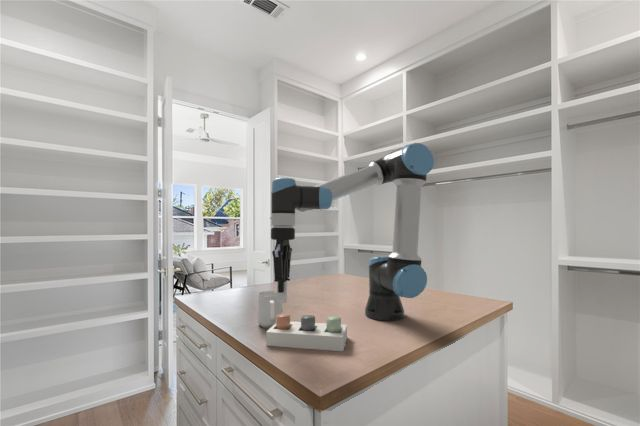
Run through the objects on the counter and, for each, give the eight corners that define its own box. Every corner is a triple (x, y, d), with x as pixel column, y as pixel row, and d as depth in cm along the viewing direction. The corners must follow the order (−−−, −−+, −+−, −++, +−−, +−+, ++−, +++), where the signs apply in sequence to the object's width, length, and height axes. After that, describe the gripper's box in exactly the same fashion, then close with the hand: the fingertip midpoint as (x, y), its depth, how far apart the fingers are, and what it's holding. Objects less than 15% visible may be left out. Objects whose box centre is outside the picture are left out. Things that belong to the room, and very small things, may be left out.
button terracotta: (291, 327, 98) (291, 314, 98) (287, 332, 94) (287, 318, 94) (278, 326, 99) (278, 313, 99) (274, 331, 95) (274, 317, 95)
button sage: (341, 330, 95) (341, 316, 95) (339, 335, 91) (339, 321, 91) (327, 329, 96) (327, 315, 96) (325, 334, 92) (325, 320, 92)
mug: (257, 321, 115) (257, 291, 115) (281, 319, 117) (280, 290, 117) (259, 332, 103) (259, 299, 103) (285, 330, 105) (285, 297, 106)
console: (347, 337, 98) (347, 324, 98) (343, 351, 87) (343, 336, 87) (278, 332, 103) (278, 320, 103) (266, 345, 92) (266, 331, 92)
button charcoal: (316, 328, 97) (316, 315, 97) (313, 333, 92) (313, 319, 93) (302, 328, 98) (302, 314, 98) (299, 332, 93) (299, 318, 93)
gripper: (278, 227, 105) (277, 297, 104) (264, 227, 92) (262, 306, 91) (299, 227, 103) (298, 298, 102) (288, 227, 91) (287, 308, 90)
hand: (282, 302), depth 97 cm, fingers closed
